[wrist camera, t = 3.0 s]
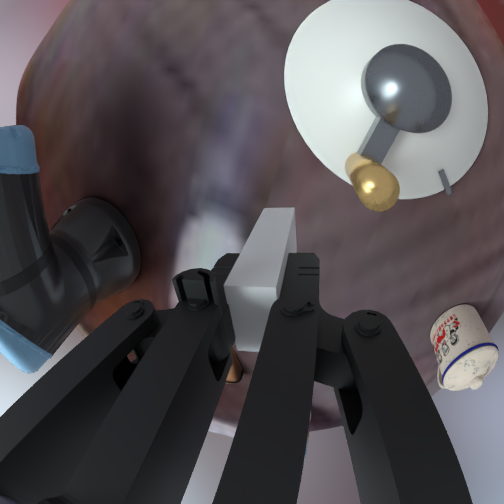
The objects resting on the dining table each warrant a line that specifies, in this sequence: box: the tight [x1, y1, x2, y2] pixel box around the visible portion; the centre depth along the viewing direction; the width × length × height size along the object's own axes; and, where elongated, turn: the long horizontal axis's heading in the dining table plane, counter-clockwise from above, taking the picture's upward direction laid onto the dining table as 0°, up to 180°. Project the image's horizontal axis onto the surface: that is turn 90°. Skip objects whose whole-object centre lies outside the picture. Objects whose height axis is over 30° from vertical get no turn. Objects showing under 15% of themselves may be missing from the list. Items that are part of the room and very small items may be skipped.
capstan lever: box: [345, 44, 452, 211], centre depth 17 cm, size 14×8×8 cm, turn 157°
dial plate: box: [284, 0, 488, 199], centre depth 20 cm, size 22×22×2 cm
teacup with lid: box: [430, 304, 499, 391], centre depth 27 cm, size 12×9×12 cm
